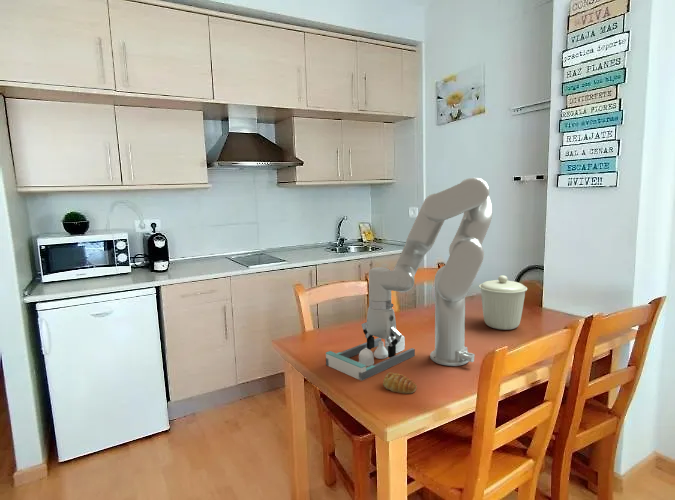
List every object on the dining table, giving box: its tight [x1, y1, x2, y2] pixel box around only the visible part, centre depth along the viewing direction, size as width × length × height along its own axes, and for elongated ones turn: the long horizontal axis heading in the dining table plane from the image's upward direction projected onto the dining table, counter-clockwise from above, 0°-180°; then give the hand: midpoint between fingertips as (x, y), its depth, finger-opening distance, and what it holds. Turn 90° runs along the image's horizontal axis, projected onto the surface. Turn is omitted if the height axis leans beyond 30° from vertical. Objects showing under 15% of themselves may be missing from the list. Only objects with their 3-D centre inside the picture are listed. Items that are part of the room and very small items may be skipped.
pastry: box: [382, 372, 418, 394], centre depth 118 cm, size 9×7×4 cm
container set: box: [358, 335, 406, 367], centre depth 141 cm, size 20×5×6 cm, turn 133°
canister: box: [478, 275, 528, 331], centre depth 167 cm, size 18×18×21 cm
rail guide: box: [325, 337, 416, 381], centre depth 138 cm, size 16×26×4 cm, turn 132°
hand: (381, 352), depth 141 cm, fingers open, 9 cm apart
